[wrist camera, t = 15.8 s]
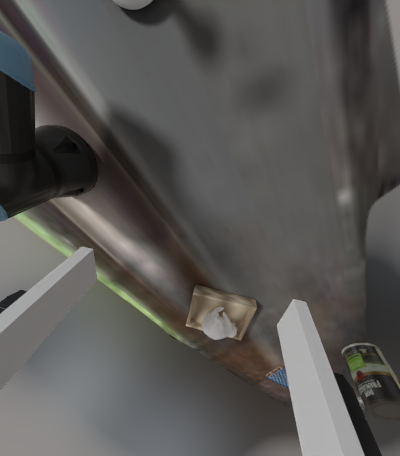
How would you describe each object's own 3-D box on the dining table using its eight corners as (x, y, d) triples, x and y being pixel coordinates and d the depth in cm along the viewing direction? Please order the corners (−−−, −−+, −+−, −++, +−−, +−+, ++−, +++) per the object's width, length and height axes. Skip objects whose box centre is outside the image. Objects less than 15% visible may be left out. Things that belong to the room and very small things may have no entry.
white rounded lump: (215, 328, 50) (244, 348, 54) (216, 300, 57) (241, 319, 61) (198, 336, 53) (227, 354, 57) (201, 308, 60) (226, 326, 64)
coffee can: (333, 353, 62) (357, 410, 50) (358, 337, 56) (392, 397, 44) (361, 365, 62) (391, 424, 50) (389, 350, 57) (430, 413, 45)
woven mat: (306, 372, 70) (308, 379, 68) (287, 383, 75) (288, 389, 74) (282, 361, 69) (283, 368, 67) (264, 372, 74) (265, 378, 73)
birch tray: (187, 317, 65) (185, 325, 62) (195, 284, 57) (193, 292, 54) (240, 331, 64) (240, 340, 61) (255, 299, 56) (256, 308, 53)
